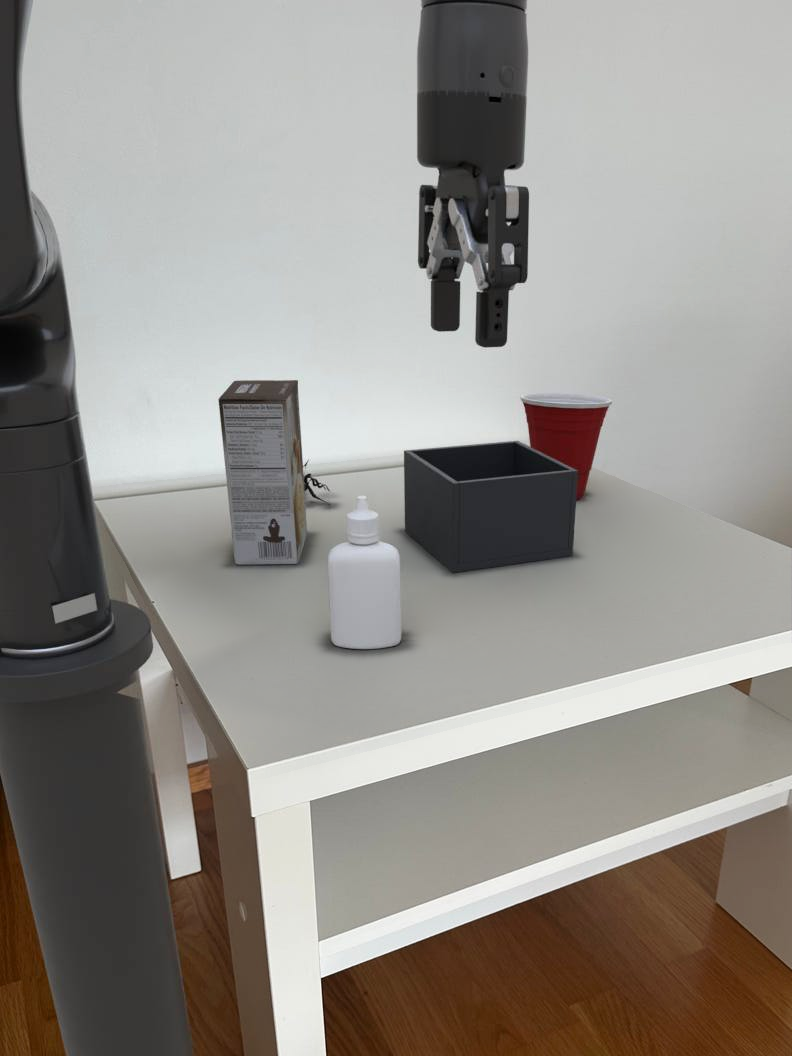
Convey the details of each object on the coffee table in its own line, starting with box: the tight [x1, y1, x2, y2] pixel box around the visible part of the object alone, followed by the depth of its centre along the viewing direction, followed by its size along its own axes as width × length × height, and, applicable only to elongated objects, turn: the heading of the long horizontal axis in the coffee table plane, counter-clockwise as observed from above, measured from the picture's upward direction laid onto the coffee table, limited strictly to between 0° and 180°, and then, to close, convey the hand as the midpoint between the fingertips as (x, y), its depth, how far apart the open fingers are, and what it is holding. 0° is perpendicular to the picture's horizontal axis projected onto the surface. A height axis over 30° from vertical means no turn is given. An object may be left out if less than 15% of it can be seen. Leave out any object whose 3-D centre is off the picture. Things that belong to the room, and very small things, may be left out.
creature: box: [303, 459, 331, 506], centre depth 108 cm, size 8×5×8 cm
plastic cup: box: [519, 392, 613, 501], centre depth 112 cm, size 11×11×12 cm
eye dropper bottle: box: [327, 495, 402, 650], centre depth 73 cm, size 4×6×12 cm
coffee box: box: [218, 379, 308, 566], centre depth 91 cm, size 9×6×16 cm
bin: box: [403, 440, 578, 574], centre depth 96 cm, size 13×13×9 cm
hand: (467, 338), depth 71 cm, fingers open, 8 cm apart
